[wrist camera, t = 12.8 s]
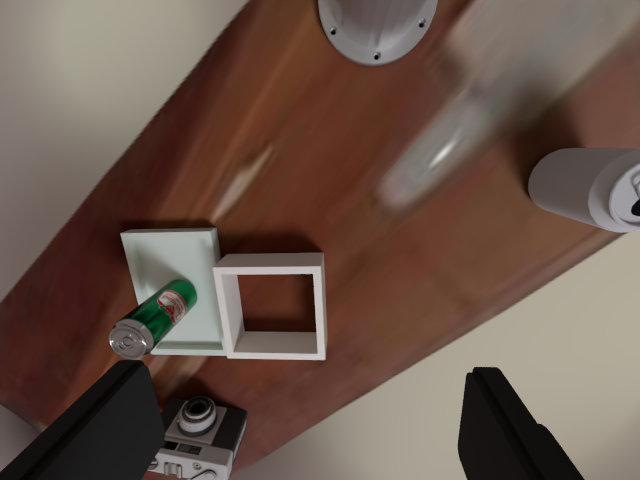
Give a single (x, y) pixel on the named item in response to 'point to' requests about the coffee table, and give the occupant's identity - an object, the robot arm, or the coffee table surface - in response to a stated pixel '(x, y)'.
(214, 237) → the tray
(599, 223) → the can
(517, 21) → the coffee table surface
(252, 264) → the holder
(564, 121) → the coffee table surface
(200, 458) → the camera
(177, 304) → the soda can
